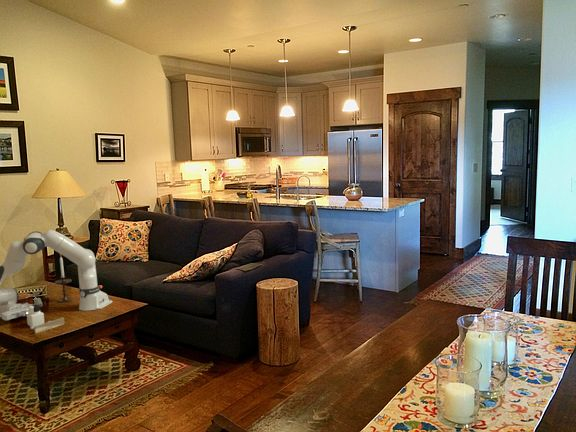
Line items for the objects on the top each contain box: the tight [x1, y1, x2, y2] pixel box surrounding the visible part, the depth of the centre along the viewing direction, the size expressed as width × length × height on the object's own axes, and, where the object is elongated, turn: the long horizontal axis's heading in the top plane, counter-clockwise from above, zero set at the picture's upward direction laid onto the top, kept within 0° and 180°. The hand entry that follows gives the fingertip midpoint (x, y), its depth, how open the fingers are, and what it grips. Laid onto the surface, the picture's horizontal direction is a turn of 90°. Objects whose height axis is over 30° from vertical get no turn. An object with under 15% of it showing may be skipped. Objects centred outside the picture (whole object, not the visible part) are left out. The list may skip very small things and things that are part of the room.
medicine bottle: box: [26, 304, 45, 327], centre depth 292 cm, size 7×7×12 cm
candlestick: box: [54, 253, 73, 304], centre depth 338 cm, size 11×11×35 cm
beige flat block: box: [29, 317, 65, 335], centre depth 287 cm, size 11×18×4 cm, turn 148°
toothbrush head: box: [33, 296, 43, 308], centre depth 335 cm, size 5×7×25 cm
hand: (26, 314), depth 297 cm, fingers closed
